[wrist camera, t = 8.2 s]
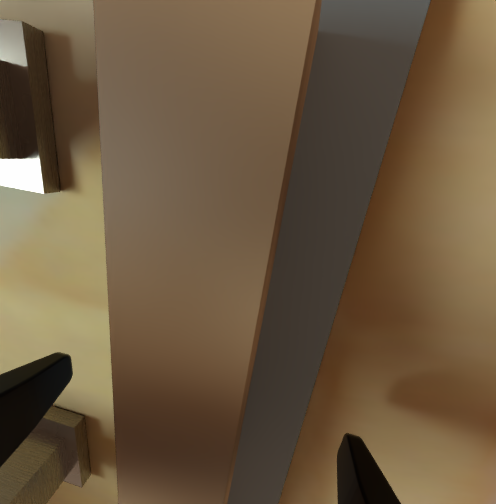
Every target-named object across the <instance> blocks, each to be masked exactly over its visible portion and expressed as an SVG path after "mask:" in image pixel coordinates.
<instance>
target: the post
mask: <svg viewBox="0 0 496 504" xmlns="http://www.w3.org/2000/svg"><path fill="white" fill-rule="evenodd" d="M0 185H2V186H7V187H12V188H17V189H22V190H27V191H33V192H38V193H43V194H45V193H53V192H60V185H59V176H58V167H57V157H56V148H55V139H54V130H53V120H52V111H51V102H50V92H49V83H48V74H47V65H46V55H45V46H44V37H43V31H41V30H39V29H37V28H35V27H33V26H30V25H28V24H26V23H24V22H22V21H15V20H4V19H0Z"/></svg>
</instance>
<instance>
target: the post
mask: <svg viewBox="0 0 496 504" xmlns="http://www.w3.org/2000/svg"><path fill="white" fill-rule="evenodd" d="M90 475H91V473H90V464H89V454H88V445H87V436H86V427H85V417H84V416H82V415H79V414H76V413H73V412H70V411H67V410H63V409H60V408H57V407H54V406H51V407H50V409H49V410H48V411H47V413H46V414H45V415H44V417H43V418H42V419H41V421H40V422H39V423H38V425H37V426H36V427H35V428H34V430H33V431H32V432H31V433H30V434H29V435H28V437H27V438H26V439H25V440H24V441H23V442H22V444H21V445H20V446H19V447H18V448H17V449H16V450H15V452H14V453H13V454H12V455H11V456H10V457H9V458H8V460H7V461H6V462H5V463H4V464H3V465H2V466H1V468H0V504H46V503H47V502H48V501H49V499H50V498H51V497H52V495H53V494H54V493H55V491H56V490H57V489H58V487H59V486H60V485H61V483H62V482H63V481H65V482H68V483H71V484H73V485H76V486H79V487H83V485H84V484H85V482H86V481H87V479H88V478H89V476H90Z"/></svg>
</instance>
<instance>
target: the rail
mask: <svg viewBox="0 0 496 504" xmlns="http://www.w3.org/2000/svg"><path fill="white" fill-rule="evenodd" d="M321 3H322V0H93V5H94V25H95V45H96V65H97V85H98V105H99V124H100V144H101V164H102V184H103V204H104V224H105V244H106V264H107V284H108V304H109V324H110V344H111V364H112V384H113V404H114V424H115V444H116V464H117V484H118V504H227V502H228V497H229V492H230V487H231V482H232V476H233V471H234V466H235V461H236V456H237V450H238V445H239V440H240V435H241V430H242V424H243V419H244V414H245V409H246V404H247V398H248V393H249V388H250V383H251V378H252V372H253V367H254V362H255V357H256V352H257V347H258V341H259V336H260V331H261V326H262V321H263V315H264V310H265V305H266V300H267V295H268V289H269V284H270V279H271V274H272V269H273V263H274V258H275V253H276V248H277V243H278V237H279V232H280V227H281V222H282V217H283V211H284V206H285V201H286V196H287V191H288V185H289V180H290V175H291V170H292V165H293V159H294V154H295V149H296V144H297V139H298V133H299V128H300V123H301V118H302V113H303V107H304V102H305V97H306V92H307V87H308V81H309V76H310V71H311V66H312V61H313V55H314V50H315V45H316V40H317V35H318V28H319V20H320V11H321Z"/></svg>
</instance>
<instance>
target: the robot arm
mask: <svg viewBox="0 0 496 504" xmlns="http://www.w3.org/2000/svg"><path fill="white" fill-rule="evenodd" d="M72 375H73V370H72V362H71V357H70V355H68V354H64V353H60V352H57V353H54V354H51V355H49V356H46V357H44V358H41V359H39V360H36V361H34V362H31V363H28V364H26V365H23V366H21V367H18V368H16V369H13V370H11V371H8V372H6V373H3V374H1V375H0V468H1V466H2V465H3V464H4V463H5V462H6V461H7V460H8V458H9V457H10V456H11V455H12V454H13V453H14V452H15V450H16V449H17V448H18V447H19V446H20V445H21V444H22V442H23V441H24V440H25V439H26V438H27V437H28V435H29V434H30V433H31V432H32V431H33V430H34V428H35V427H36V426H37V425H38V423H39V422H40V421H41V419H42V418H43V417H44V415H45V414H46V413H47V411H48V410H49V409H50V407H51V406H52V405H53V403H54V402H55V401H56V399H57V398H58V397H59V395H60V394H61V393H62V391H63V390H64V389H65V387H66V386H67V384H68V383H69V382H70V380H71V378H72ZM337 487H338V504H401V503H400V501H399V500H398V498H397V496H396V495H395V493H394V491H393V490H392V488H391V486H390V485H389V483H388V481H387V480H386V478H385V476H384V475H383V473H382V471H381V470H380V468H379V467H378V465H377V463H376V462H375V460H374V458H373V457H372V455H371V453H370V452H369V450H368V448H367V447H366V445H365V443H364V442H363V440H362V439H361V438H360V437H359V436H356V435H352V434H349V433H346V434H345V435H344V437H343V440H342V442H341V445H340V447H339V450H338V454H337Z"/></svg>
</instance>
